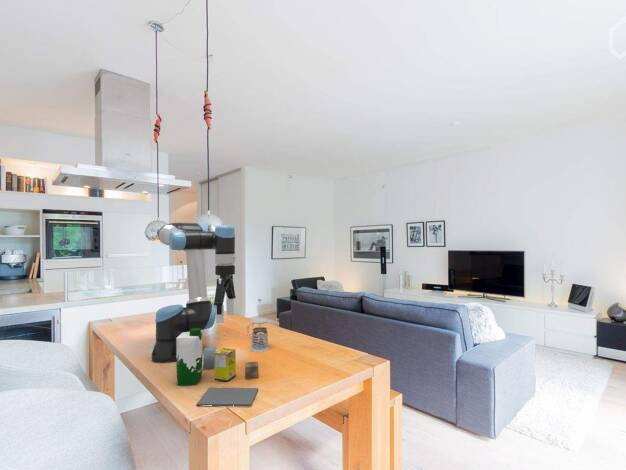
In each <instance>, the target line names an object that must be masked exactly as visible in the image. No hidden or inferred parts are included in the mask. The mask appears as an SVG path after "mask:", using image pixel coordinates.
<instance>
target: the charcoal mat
mask: <svg viewBox="0 0 626 470" xmlns="http://www.w3.org/2000/svg"><path fill="white" fill-rule="evenodd" d="M258 392H259V388H258V387H208V388H207V389H206V391H205V392H204V394H203V395H202V396H201V397H200V399H199V400H198V401H197V403H196V406H197V405H212V406H211V407H217V406H233V405H234V406H251V405H252V406H253V404H254V401H255V399H256V397H255V396H257V394H258ZM252 403H253V404H252ZM252 406H251V407H252Z"/></svg>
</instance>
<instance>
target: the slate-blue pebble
mask: <svg viewBox="0 0 626 470" xmlns="http://www.w3.org/2000/svg"><path fill="white" fill-rule="evenodd" d="M216 351H217V347H215V346H207V347H204V348H202V369H204V370H205V371H207V370H208V371H209V370H210V371H211V370H213V369H214V370H215V354H214V353H215V352H216Z"/></svg>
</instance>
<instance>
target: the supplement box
mask: <svg viewBox="0 0 626 470" xmlns="http://www.w3.org/2000/svg"><path fill="white" fill-rule="evenodd" d="M214 354H215V368H214V381H218V382H224V383H228V382H230V381H231V380H233V379H234V378H236V377H237V376H236V371H237V370H236V368H237V366H236V361H237V360H236V359H237V358H236V348H227V347H222V348H220V349H218V350H216V352H215V353H214Z"/></svg>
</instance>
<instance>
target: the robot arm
mask: <svg viewBox="0 0 626 470" xmlns="http://www.w3.org/2000/svg"><path fill="white" fill-rule="evenodd" d="M235 231H236V230H235V226H233V225H216V226H215V230H214V231H210V230H209V228H208V227H207V225H206V224H205V223H198V222H170V223H167V224H164V225H162V226H161V227H160V228H159V229H158V232H157V238H158V240H159V242H161V243H162V245H163V244H164V245H166V246H169V248H170V250H172V251H183V252H185V256H186V257H185V258H186V272H187V288H188V301H187V302H186V303H185V307H184V306H183V304H173V305H172V304H171V305H168V306H164V307H160V308H159V309H157V311H156V313H155V319H154V320H155V343H154V345H153V349H152V353H151V355H150V356H151V359H152V360H151V362H153V361H154V363H158V362H160V363H161V364H164V363H166V362H167V363H173V362H177V342H176V338H177V337H178V336H179V335H180V334H181V333H184V332H190V329H192V328H201V331H205V330H208V329H211V328H212V327H213V326H214V324H224V323H225V305H224V302H225V296H226V315H227V316H234V313H235V311H234V310H235V309H234V308H235V307H234V306H235V305H234V302H235V301H234V299H236V298H237V297H236V296H237V295H236V292H235V286H234V275H235V274H236V266H235V263H236V259H237V256H236V255H235V254H236V233H235ZM206 250H207V251H208V250H214V251H215V254H214V256H215V257H214V261H215V262H214V264H215V267H214V268H215V270H214V271H215V272H214V274H215V275H216V276H219V278H216V286H215V287H216V288H215V293H214V300H213V303H212V300H211V299H209V298H208V289H207V279H206V278H207V277H206V265H205V264H206V263H205V251H206ZM160 363H159V364H160Z"/></svg>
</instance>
